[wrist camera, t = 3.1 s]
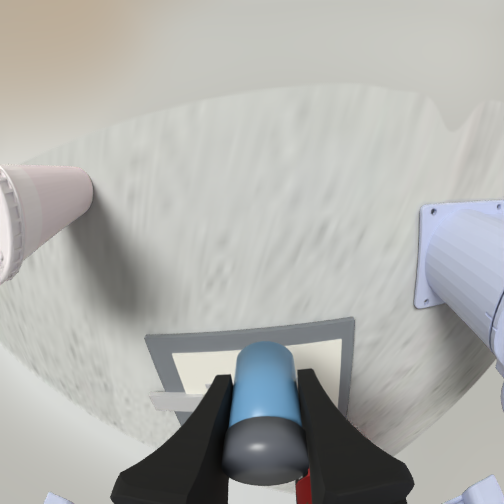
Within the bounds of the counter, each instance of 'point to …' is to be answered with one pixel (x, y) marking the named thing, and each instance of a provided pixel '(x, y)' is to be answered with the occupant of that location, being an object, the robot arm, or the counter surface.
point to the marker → (265, 419)
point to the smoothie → (37, 208)
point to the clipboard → (230, 345)
